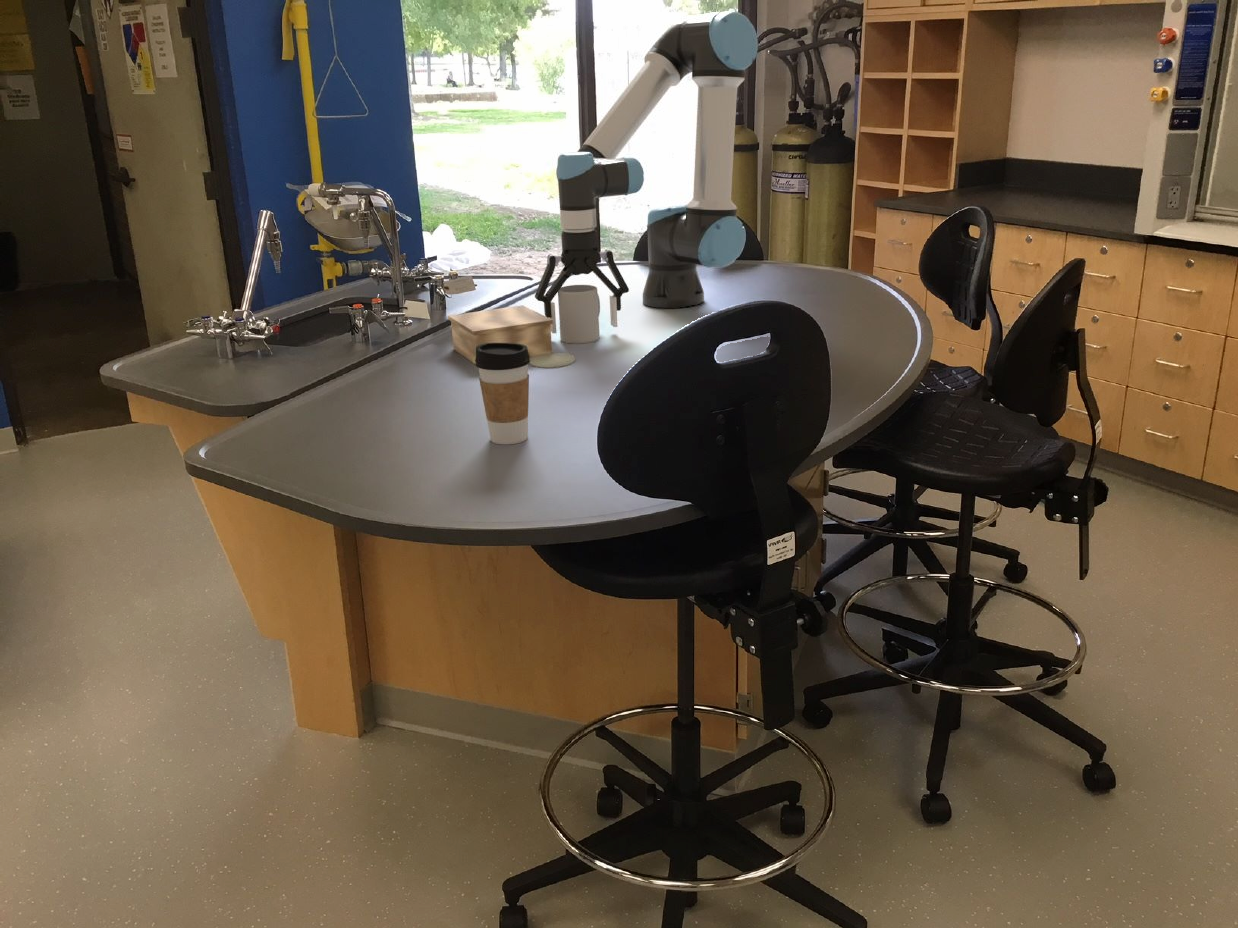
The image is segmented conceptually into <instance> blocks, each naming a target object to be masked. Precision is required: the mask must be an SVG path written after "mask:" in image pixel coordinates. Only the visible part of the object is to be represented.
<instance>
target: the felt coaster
mask: <svg viewBox="0 0 1238 928" xmlns="http://www.w3.org/2000/svg"><path fill="white" fill-rule="evenodd" d="M573 363H575V356H574V355H572V354H568V353H561V352H560V353H559V352H552V353H550V354H542V355H538V356H535V357H532V358H530V363H529V365H531V366H533V367H534V368H535V367H537V368H541V369H542V368H543V369H544V368H545V369H548V368H549V369H551V368H552V369H553V368H561V367H562V368H563V367H566V366H569V365H572V364H573Z"/></svg>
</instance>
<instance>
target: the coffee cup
mask: <svg viewBox="0 0 1238 928" xmlns="http://www.w3.org/2000/svg"><path fill="white" fill-rule="evenodd" d="M530 359H531V358H530V355H529V353H528V349H527V346H525V345H523V344H517V343H484V344H481V345H478V346H477V347H476V359H475V362H476V364H475V366H476V368H478V372H479V378H478V382H479V386H480V390H481V395H482V400H483V407H484V410H485V411H484V412H485V416H486V420H487V427H488V431H489V432H488V433H489V438H490V441H491V442H492V443H493V444H497V445H505V446H506V445H515V444H516V445H517V444H520V443H522V442H525V441H526V440H527V439H528V437H529V399H530V398H529V395H530V394H529V393H530V391H529V390H530V375H529V371H528V370H529V365H530Z"/></svg>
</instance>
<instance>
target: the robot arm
mask: <svg viewBox="0 0 1238 928" xmlns="http://www.w3.org/2000/svg"><path fill="white" fill-rule="evenodd" d="M758 40H759V39H758V35H757V31H756V29H755V26H754V25H753V23H752V22H751V21H750V19H749V18H748V17H747V16H746V15H744V14H742V13H741V12H738V11H727V10H723V11H716V12H710V13H703V14H690V15H686V16H684V17H683V18H681V19H679V20H678V21H676V22H675V23H674V24H672V25H671V26H670V27H669V28H668V29H667V30H666V31H665V32H664V33H663V34H661V36H660V37H659V38H658V39H657V40H656V42H655V43H654V44H653V45H652V46H651V48H650V49H649V51H648V52H647V53H646V54H645V56H644V58H643V59H644V64H643V66H642V67H641V68H640V70H639V71H638V72H637V73H636V75H635V76H634V78H633V79H632V80H631V81H630V82H629V84H628V85H627V87H626V88H625V89H624V90H623V92H621V95H619V97H617V100H616V101H615V102H614V103H613V105H612V106H611V108H610V109H609V110H608V111H607V112H606V114H605V115H604V117H603V118H602V119H601V120H600V121H599V123H598V124H597V125H596V127H595V129H594V130H593V131H592V132H591V133H590V135H589V136H588V137H587V139H586V140H585V141H584V143H583V144H582V145H581V146H580V148H579V149H578V150H577V151H576V152H563V153H561V154H559V156H558V157H557V165H556V172H555V173H556V174H555V175H556V179H557V184H558V185H557V186H558V200H559V201H558V202H559V216H560V219H559V220H560V228H561V230H563V231H562V232H561V233H560V235H561V237H560V238H561V255H553V254H551V253H550V254H547V259H546V260H547V261H546V262H547V263H546V267H545V269H544V272H543V274H542V276H541V280H540V282H539V284H538V286H537V289H536V291H535V294H534V298H535V299H536V300H537V301H538V302H543V309H544V310H543V311H544V316H546V317H548V318H550V319H552V320H553V324H550V327H551V334H557V321H556V320H557V319H556V304H555V302H554V301H553V299H554V298H555V297H556V295H558V291H559V290H560V288H561V287H563V285H564V284H565V283H566V282H567V280H568V279H569V278H570V277H571V275H573V276H580V275H582V274H583V275H590V274H591V273H593V274H594V275H596V277H598V279H599V280H600V281H601V282H602V283H603V284H604V285H605V286H606V288H607V289H609V291H610V292H611V293H612V294H609V310H610V311H609V312H610V326H612V327H613V328H618V312H620V311H621V309H622V298H621V297H622V296H623V295H624V294H626V293H629V291H630V289H629V287H628V285H627V283H626V281H625V279H624V277H623V275H622V273H621V272H620V270H619V268H618V266H617V264H616V262H615V260H614V254H613V251H611V250H610V249H604V251H599V249H598V247H599V246H598V231H597V230H596V229H595V228H597V225H598V224H597V208H596V207H597V204H596V201H597V200H596V199H600V198H607V197H616V196H617V197H619V196H628V195H632V194H635V193H638V192H640V191H641V189H642V187H643V185H644V180H645V177H644V175H645V173H644V167H643V166H642V164H641V162H640V161H639V160H638V159H637V158H634V157H624V156H623V157H621V158H617V156H618V155H620V153H621V152H622V151H623V149H624V148H625V147H626V145H627V144H628V142H629V141H630V140H631V139H632V137H633V136H634V135H635V133H636V132H637V131H638V129H639V128H640V127H641V125H642V124H643V123H644V122H645V121H646V119H647V117H649V115H650V114H651V113H652V112H653V110H654V109H655V107H656V106H657V105H658V103H659V102H660V100H661V99H662V98H663V97H664V95H665V94H666V93H667V92H668V90H669V89H670V88H671V87H675V86H678V85H679V84H680V82H681V81H682V80H683V78H685V77H686V76H687V75H689V74H691V80H693V82H694V83H695V84H696V85H697V108H696V109H697V111H696V128H695V129H696V131H695V132H696V134H695V150H694V151H695V154H694V175H693V192H692V194H693V195H692V196H693V198H692V199H691V200H690V202H689V203H687V204H686V205H685V204H684V205H676V206H675V205H674V206H668V207H659V208H653V209H651V210H650V211H649V212H648V214H647V225H646V229H647V250H648V251H647V253H648V254H647V255H648V275H647V278H646V280H645V284H644V288H643V292H642V304H643V305H645V306H648V307H651V308H657V309H659V308H660V309H679V307H682V308H687V307H686V306H690V307H692V306H691V305H695V306H698V304H699V305H700V303H701V302H703V301H704V302H705V291H704V287H703V286H702V283H701V279H700V277H699V273H698V270H697V265H700V266H703V267H706V268H719V269H720V268H725V267H729V266H730V265H732V264H733V263H734V262H736V260H737V259H738V258H739V257H740V256H741V254H742V252H743V250H744V248H745V244H746V241H747V240H746V237H747V234H746V228H745V226H744V225H743V222H742V221H741V220H740V219H739V218H738V216H737V215H738V214H737V212H738V210H737V209H738V207H737V206H736V205H735V203H734V202H733V200H732V189H733V188H732V187H733V186H732V185H733V170H734V169H733V168H734V151H735V148H734V147H735V131H736V115H737V114H736V113H737V101H738V100H737V99H738V98H737V97H738V96H737V95H738V88H739V86H740V85H741V84H742V83H744V81H745V80H746V69H748V67H750V66H751V65H752V64H753V62H754V61H755V59H756V57H757V53H758V48H759V43H758V42H759V41H758ZM601 259H602V261H603V262H605V263H606V264H607V267H608V268H609V270H610V273H611V274H612V276H613V278H614V279H615V282H616V283H617V285H618V288H617V286H616V285H615V284H614V283H613V282H612V281H611V280H610V279H609V278H608V277H607V276H606V275H605V273H603V271H602V270H601V269H600V268H599V267H598V266H597V264H598V263H599V262H600V260H601ZM560 262H561V264H563V266H564V267H563V268H562V269H561V271H560V273H559V275H558V276H557V277H556V279H555V281H554V282H553V283H552V285H551V286H550V287H549V289H548V290H547V288H548V286H549V285H550V282H551V279H552V276H553V275H554V272H555V268H556V267H557V266H558V265H559V263H560ZM704 302H703V303H704ZM701 304H702V303H701Z"/></svg>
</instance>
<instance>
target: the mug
mask: <svg viewBox="0 0 1238 928" xmlns="http://www.w3.org/2000/svg"><path fill="white" fill-rule="evenodd" d="M557 300H558V315H559V316H558V318H559V335H560V336H559V338H560V340H561V342H563V343H566V344H577V345H579V344H589V343H593V342H596V341H598V340H599V339H600V336H601V335H600V314H601V301H600V300H601V299H600V296H599V293H598V286H595V285H591V284H571V285H570V284H569V285H565V286H562V287H561V288H560V290H559V291H558V292H557Z"/></svg>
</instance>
